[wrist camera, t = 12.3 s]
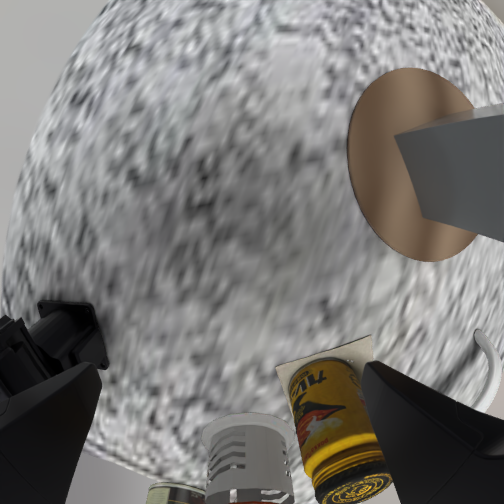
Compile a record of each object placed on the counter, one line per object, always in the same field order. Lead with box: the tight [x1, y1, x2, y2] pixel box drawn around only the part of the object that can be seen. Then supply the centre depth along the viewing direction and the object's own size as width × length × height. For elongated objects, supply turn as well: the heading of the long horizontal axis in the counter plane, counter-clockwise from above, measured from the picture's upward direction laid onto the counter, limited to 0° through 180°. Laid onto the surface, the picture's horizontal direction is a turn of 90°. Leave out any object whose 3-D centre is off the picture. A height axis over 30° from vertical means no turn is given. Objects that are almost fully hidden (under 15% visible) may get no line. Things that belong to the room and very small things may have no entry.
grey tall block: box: [394, 103, 504, 242], centre depth 11 cm, size 7×7×14 cm
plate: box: [347, 68, 478, 262], centre depth 18 cm, size 16×16×1 cm
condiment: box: [275, 335, 393, 504], centre depth 17 cm, size 7×8×12 cm
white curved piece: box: [471, 330, 502, 413], centre depth 22 cm, size 24×12×7 cm, turn 146°
